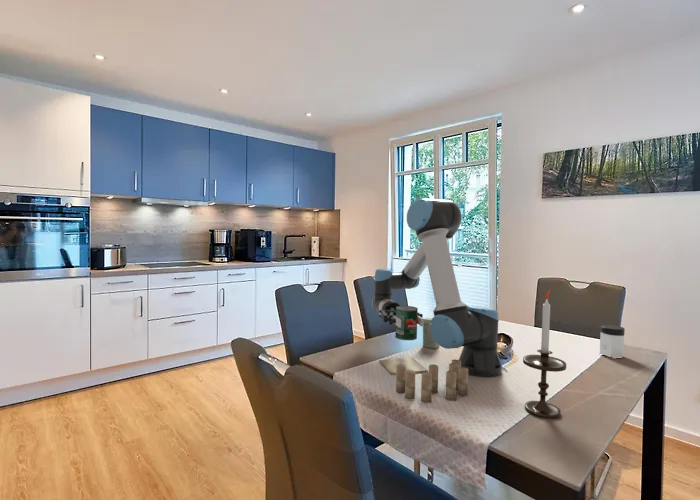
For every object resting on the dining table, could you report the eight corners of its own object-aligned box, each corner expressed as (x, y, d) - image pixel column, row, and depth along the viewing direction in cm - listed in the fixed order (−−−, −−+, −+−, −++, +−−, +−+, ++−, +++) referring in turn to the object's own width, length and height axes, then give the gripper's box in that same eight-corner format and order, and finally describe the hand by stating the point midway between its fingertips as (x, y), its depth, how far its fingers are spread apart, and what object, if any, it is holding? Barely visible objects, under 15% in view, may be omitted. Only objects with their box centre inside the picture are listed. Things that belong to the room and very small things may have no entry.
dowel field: (460, 383, 128) (461, 359, 127) (473, 404, 112) (474, 377, 112) (393, 381, 129) (394, 358, 128) (398, 402, 113) (398, 375, 113)
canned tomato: (398, 333, 146) (399, 304, 146) (419, 336, 143) (419, 306, 142) (392, 338, 139) (393, 308, 138) (414, 341, 136) (415, 311, 135)
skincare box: (439, 346, 169) (440, 318, 168) (436, 348, 165) (436, 320, 164) (425, 343, 172) (426, 316, 171) (422, 346, 168) (422, 318, 168)
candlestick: (571, 413, 108) (577, 289, 106) (551, 424, 101) (557, 292, 100) (534, 399, 116) (538, 284, 115) (513, 408, 110) (518, 287, 108)
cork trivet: (412, 359, 151) (413, 357, 151) (428, 371, 138) (428, 370, 138) (378, 361, 148) (378, 359, 148) (390, 374, 135) (391, 373, 135)
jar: (593, 353, 162) (595, 325, 161) (606, 351, 165) (608, 323, 164) (615, 360, 153) (617, 330, 153) (628, 357, 157) (630, 328, 156)
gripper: (413, 317, 161) (438, 332, 138) (365, 319, 156) (383, 334, 134) (413, 299, 160) (438, 311, 138) (366, 301, 155) (383, 313, 133)
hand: (411, 323), depth 136 cm, fingers closed on canned tomato, 8 cm apart
